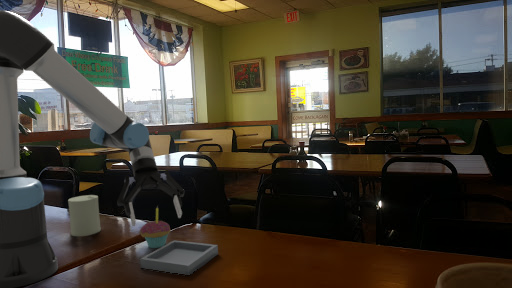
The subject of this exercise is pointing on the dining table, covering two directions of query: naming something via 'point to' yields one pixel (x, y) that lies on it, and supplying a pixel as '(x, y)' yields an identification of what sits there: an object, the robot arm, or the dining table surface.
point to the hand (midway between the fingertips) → (157, 219)
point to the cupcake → (155, 232)
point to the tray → (180, 257)
